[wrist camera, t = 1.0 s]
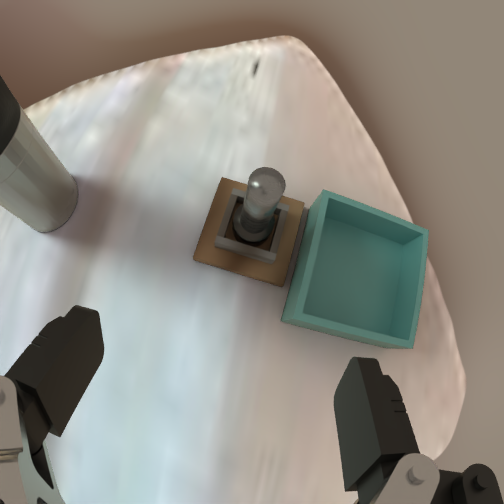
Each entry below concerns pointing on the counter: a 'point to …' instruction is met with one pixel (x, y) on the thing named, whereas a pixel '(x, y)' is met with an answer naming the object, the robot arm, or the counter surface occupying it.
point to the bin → (358, 274)
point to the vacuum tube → (258, 207)
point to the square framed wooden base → (241, 255)
